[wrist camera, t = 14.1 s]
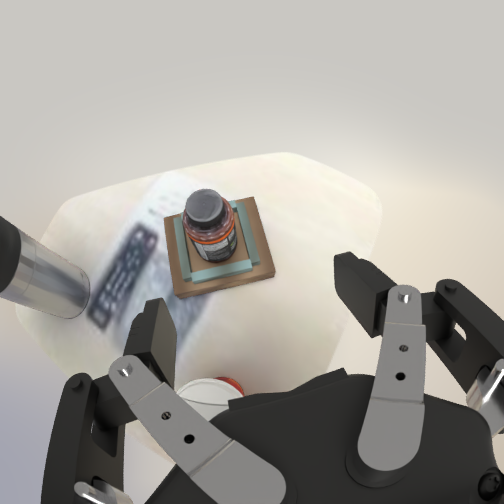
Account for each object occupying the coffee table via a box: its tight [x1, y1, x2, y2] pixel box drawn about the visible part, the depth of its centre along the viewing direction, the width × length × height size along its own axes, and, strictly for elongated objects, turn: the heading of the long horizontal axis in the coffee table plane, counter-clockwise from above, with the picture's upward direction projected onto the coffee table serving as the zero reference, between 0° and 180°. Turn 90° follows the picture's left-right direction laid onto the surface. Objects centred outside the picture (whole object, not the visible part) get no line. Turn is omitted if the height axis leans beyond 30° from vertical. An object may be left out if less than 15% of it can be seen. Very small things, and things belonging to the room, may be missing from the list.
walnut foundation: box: [164, 197, 275, 299], centre depth 39 cm, size 14×12×4 cm
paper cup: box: [176, 377, 244, 421], centre depth 28 cm, size 8×8×14 cm
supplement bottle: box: [183, 189, 237, 263], centre depth 33 cm, size 6×6×11 cm
